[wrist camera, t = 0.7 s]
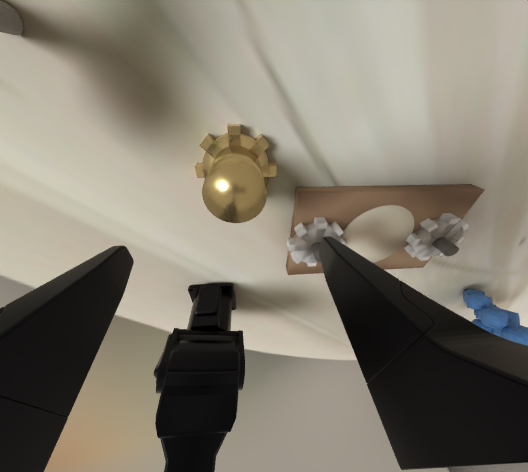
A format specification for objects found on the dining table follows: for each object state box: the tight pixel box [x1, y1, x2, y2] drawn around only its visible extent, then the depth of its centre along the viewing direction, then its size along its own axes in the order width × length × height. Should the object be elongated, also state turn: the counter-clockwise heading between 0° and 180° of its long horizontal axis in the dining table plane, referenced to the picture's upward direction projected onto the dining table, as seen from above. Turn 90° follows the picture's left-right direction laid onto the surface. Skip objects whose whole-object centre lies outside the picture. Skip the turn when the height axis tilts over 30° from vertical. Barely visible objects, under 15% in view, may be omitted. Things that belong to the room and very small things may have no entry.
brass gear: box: [195, 124, 277, 223], centre depth 15 cm, size 7×7×6 cm
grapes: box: [463, 289, 528, 345], centre depth 31 cm, size 12×7×12 cm, turn 57°
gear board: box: [286, 184, 484, 275], centre depth 22 cm, size 12×21×4 cm, turn 89°
